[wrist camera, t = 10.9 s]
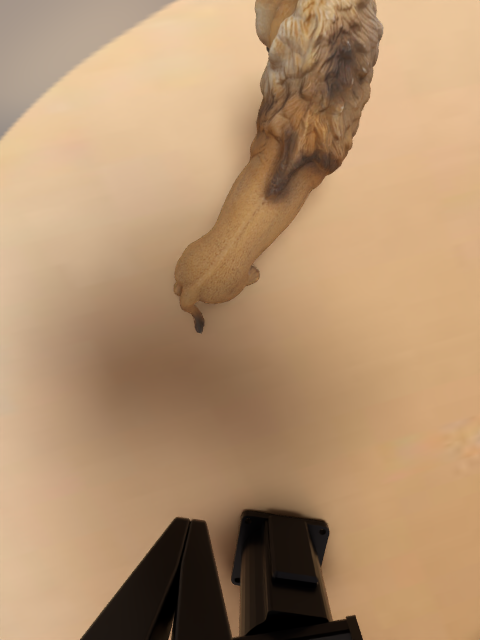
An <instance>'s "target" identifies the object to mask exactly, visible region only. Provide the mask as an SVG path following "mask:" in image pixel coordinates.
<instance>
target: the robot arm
mask: <svg viewBox="0 0 480 640" xmlns="http://www.w3.org/2000/svg"><path fill="white" fill-rule="evenodd" d="M247 518H249V519H247ZM321 529H323V530H321ZM328 536H329V528H328V525H327V524H326V523H325V522H322V521H315V520H308V519H301V518H294V517H287V516H280V515H273V514H267V513H260V512H253V511H245V512H243V513H242V515H241V521H240V527H239V533H238V539H237V545H236V551H235V557H234V563H233V568H232V576H231V581H232V583H233V584H234V585H239V586H240V616H239V637H234V638H232V634H231V630H230V625H229V621H228V617H227V612H226V608H225V603H224V599H223V594H222V590H221V585H220V581H219V576H218V572H217V567H216V563H215V558H214V554H213V550H212V545H211V541H210V536H209V532H208V527H207V523H206V522H205V521H203V520H196V519H193V520H191V521H190V519H189V518H183V517H176V518H175V519H174V520H173V521H172V522H171V524H170V525H169V526H168V528H167V529H166V530H165V531H164V533H163V534H162V535H161V537H160V538H159V539H158V540H157V542H156V543H155V544H154V546H153V547H152V548H151V549H150V551H149V552H148V553H147V554H146V556H145V557H144V558H143V560H142V561H141V562H140V563H139V565H138V566H137V567H136V569H135V570H134V571H133V572H132V574H131V575H130V576H129V578H128V579H127V580H126V581H125V583H124V584H123V585H122V586H121V588H120V589H119V590H118V592H117V593H116V594H115V595H114V597H113V598H112V599H111V601H110V602H109V603H108V604H107V606H106V607H105V608H104V610H103V611H102V612H101V613H100V615H99V616H98V617H97V618H96V620H95V621H94V622H93V624H92V625H91V626H90V627H89V629H88V630H87V631H86V633H85V634H84V635H83V636H82V638H81V639H80V640H168V639H169V635H170V631H171V627H172V623H173V628H172V636H171V640H363V638H362V635H361V632H360V629H359V626H358V622H357V619H356V616H355V615H353V616H347V617H346V619H343V620H337V621H333V619H332V615H331V610H330V606H329V602H328V597H327V593H326V589H325V584H324V580H323V576H322V571H321V565H322V561H323V557H324V553H325V549H326V544H327V540H328ZM173 618H174V620H173Z"/></svg>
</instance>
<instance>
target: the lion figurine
mask: <svg viewBox="0 0 480 640" xmlns="http://www.w3.org/2000/svg"><path fill="white" fill-rule="evenodd" d="M376 11H377V9H376V2H375V0H256V2H255V12H256V32H257V35H258V37H259V39H260V41H261V42H262V43H263V44H264V45H265V46H267V51H268V53H269V54H268V55H269V58H268V59H269V60H268V63H267V66H266V68H265V71H264V73H263V75H262V78H261V82H260V87H261V92H262V94H263V100H262V103H261V106H260V109H259V113H258V118H257V122H256V124H257V135H256V137H255V139H254V140H253V142H252V144H251V149H250V153H251V157H250V162H249V163H248V165H247V166H246V167H245V168H244V170H243V171H242V172H241V174H240V175H239V176H238V178H237V179H236V181H235V183H234V184H233V186H232V188H231V190H230V192H229V194H228V196H227V198H226V201H225V203H224V205H223V208H222V210H221V212H220V215H219V217H218V220H217V222H216V224H215V226H214V227H213V228H212V230H211V231H210V232H209V233H207V234H206V235H204V236H203V237H201V238H200V239H198V240H197V241H195V242H193V243H191V244H190V245H189V246H188V247H187V248H186V249H185V251H184V253H183V254H182V256H181V258H180V259H179V261H178V263H177V266H176V269H175V279H176V281H177V282H176V283H175V285H174V292H175V294H176V295H178V296H180V306H181V308H182V309H183V310H184V311H186V312H189V313H191V314H192V316H193V317H194V319H195V321H194V322H195V329H196V331H197V332H198V333H202V331H203V327H204V318H203V316H202V313H201V312H200V311H199V309H198V308H197V307H196V306H195V303H196V302H197V301H202V302H204V303H211V304H216V303H222V302H226V301H229V300H231V299H233V298H234V297H236V296H237V295H238V294H239V293H240V292H241V291H242V290H243V288H244V287H245V286H248V285H251V284H253V283H255V282H256V281H257V280H258V279H259V271H258V269H257V268H255V267H254V266H252V264H253V262H254V261H255V260H256V258H257V257H258V256H259V255H260V254H261V253H262V252H263V251H264V250H265V249H266V248H267V247H268V246H269V245H270V244H271V243H272V242H273V241H274V240H275V239H276V238H277V237H278V236H279V235H280V233H281V232H283V231H284V230H285V229H286V228H287V226H288V225H289V224H290V223H291V222H292V220H293V219H294V218H295V216H296V215H297V213H298V212H299V210H300V209H301V207H302V205H303V204H304V202H305V200H306V198H307V196H308V194H309V193H310V192H311V191H312V189H314V188H316V187H317V186H318V185H319V184H320V183H321V182H322V180H323V179H324V177H325V176H326V175H329V174H331V173H333V172H334V171H335V170H336V169H337V168H339V167H340V166H341V164H342V161H343V160H344V159H345V157H346V156H347V154H348V151H349V150H350V149H351V148H352V144H353V143H352V138H353V137H354V136H355V134H356V132H357V129H358V126H359V120H360V117H361V111H362V110H363V108H364V105H365V104H366V103H367V102H368V100H369V98H370V90H371V88H370V83H371V80H372V77H373V66H374V65H375V64H376V61H377V58H378V52H379V49H378V46H379V42H380V40H381V38H382V35H383V25H382V23H381V22H380V21H379V20H378V19H377V17H376Z"/></svg>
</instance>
